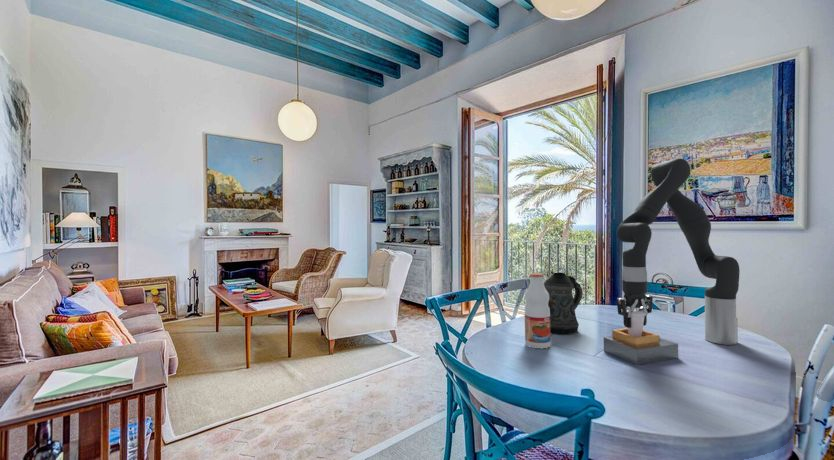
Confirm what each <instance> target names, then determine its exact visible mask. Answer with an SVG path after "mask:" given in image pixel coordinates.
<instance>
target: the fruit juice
mask: <svg viewBox="0 0 834 460" xmlns="http://www.w3.org/2000/svg"><path fill="white" fill-rule="evenodd" d="M529 279H530V282H529V286H528V287H527V289H526V291H525V293H524V300H525V306H524V342H525V345H526V346H527V347H528V346H530V347H529V348H531V347H533V348H532V349H535V348H541V349H540V350H544V349H543V348H546V349H549V348H550V347H551V345H552V344H551V343H552V341H551V334H550V308H549V306H548V302H549V293H548V292H547V290H546V289H545V286H544V281H543V279H544V274H543V273H542V272H541V273H540V272H531V273H529ZM548 347H549V348H548Z"/></svg>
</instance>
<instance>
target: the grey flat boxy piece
mask: <svg viewBox="0 0 834 460" xmlns="http://www.w3.org/2000/svg"><path fill="white" fill-rule="evenodd" d="M611 332H612V333H611V334H612V335H611V336H610V335H609V336H604V337H603V351H604V352H606V353H608V354H610V355H612V356H616V357H618V358H620V359H623V360H625V361H627V362H629V363H632V364H633V365H634V364H635V365H636V366H641V365H645V364H652V363H657V362H663V361H669V360H676V359H679V343H677V342H674V341H672V340H668V339H666V338H662V337H661V336H660V335H659V334H657V333H654V332H650V331H648V330H644V329H643V330H642V336H641V337H634V336H631V335H628V328H627V327H625V328H618V329H612V331H611Z"/></svg>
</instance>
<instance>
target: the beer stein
mask: <svg viewBox="0 0 834 460" xmlns="http://www.w3.org/2000/svg"><path fill="white" fill-rule="evenodd" d="M566 274H567V273H565V272H553V274H552V276H550V277H548V279H546V280H545V281H543V283H544V286H545V289H546V290H547V292H548V293H549V302H548V306H549V308H550V333H552V334H551V335H559V336H560V335H561V336H568V335H569V336H570V335H575V334H576V333H577V332H578V329H579V324H580V323H579V321H578V320H577V316H576V309H577V308H578V306H579V305H580V303H581V300H582V298H583V289H582V286H581V283H579V282H577V281H576V280H577V279H576V277H574V276H571V275H566ZM573 289H574V296H573Z"/></svg>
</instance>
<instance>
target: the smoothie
mask: <svg viewBox="0 0 834 460" xmlns="http://www.w3.org/2000/svg"><path fill="white" fill-rule="evenodd" d="M627 313H628V311H627ZM645 316H646V313H645V312H643V311H640V310H638V308H635V309H634V311H633V312H632V314H631V316H630V317H631V328H628V335H631V336H634V337H641V336H642V330H644V326H643V323H644V317H645Z"/></svg>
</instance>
